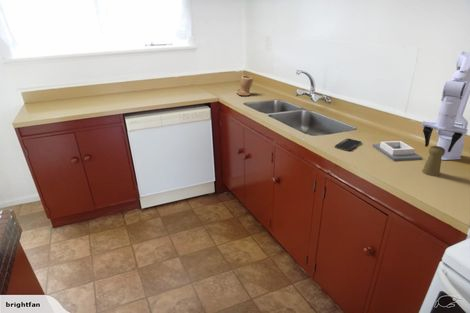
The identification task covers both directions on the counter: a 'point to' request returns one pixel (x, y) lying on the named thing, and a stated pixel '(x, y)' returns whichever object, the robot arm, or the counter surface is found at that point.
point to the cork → (434, 161)
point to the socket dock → (397, 150)
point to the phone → (348, 144)
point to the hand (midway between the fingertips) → (437, 148)
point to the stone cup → (245, 85)
